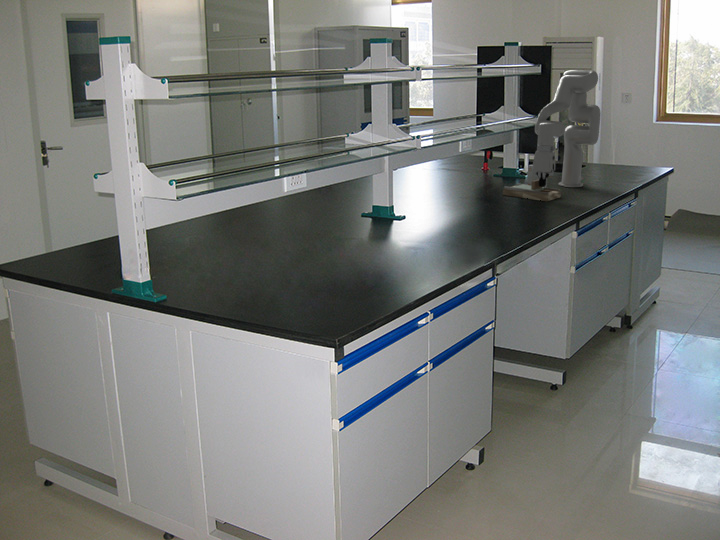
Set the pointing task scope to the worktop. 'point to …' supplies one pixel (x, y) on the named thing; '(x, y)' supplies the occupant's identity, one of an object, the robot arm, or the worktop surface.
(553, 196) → the sliding lid wooden box
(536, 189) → the lid
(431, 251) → the worktop surface
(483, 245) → the worktop surface
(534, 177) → the small box
